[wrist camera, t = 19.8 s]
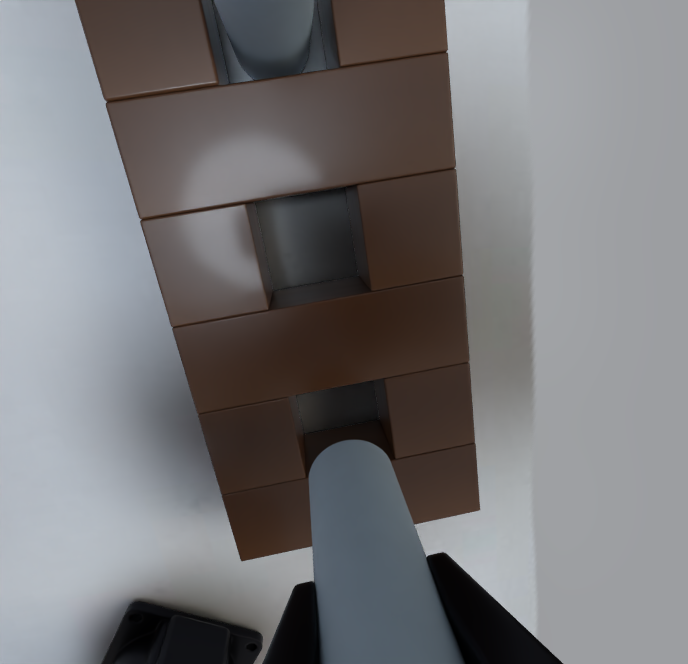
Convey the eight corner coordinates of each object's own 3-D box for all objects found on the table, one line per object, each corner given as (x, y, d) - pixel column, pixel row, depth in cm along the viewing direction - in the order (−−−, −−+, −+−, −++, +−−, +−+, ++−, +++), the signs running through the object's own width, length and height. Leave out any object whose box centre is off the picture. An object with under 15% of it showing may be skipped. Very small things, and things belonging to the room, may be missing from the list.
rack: (452, 464, 19) (480, 510, 16) (249, 506, 19) (240, 562, 16) (396, -158, 12) (426, -264, 10) (75, -121, 12) (7, -221, 9)
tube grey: (330, 529, 13) (445, 1532, 3) (285, 462, 12) (255, 1554, 2) (412, 488, 13) (785, 1394, 3) (372, 417, 12) (720, 1365, 2)
